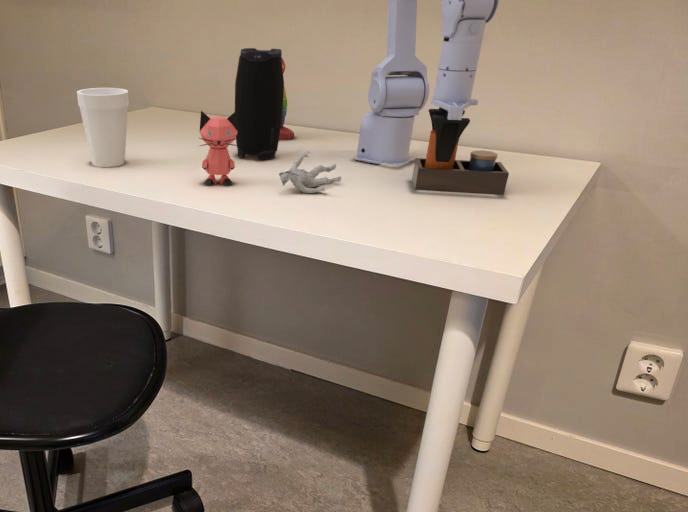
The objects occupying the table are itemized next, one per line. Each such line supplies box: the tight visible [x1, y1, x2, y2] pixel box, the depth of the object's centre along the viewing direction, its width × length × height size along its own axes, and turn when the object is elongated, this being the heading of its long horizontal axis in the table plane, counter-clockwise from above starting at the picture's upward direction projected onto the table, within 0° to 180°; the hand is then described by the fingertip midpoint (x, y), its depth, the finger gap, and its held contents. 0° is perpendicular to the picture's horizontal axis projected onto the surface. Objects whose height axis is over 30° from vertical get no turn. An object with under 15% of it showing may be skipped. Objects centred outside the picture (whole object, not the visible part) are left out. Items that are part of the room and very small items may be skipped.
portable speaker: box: [234, 47, 285, 161], centre depth 124 cm, size 9×9×20 cm
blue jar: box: [468, 150, 499, 171], centre depth 107 cm, size 4×4×6 cm
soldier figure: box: [278, 150, 342, 194], centre depth 108 cm, size 8×5×12 cm
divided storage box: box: [411, 157, 510, 196], centre depth 108 cm, size 7×14×4 cm, turn 78°
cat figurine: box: [198, 110, 239, 186], centre depth 109 cm, size 7×7×12 cm
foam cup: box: [76, 87, 130, 168], centre depth 121 cm, size 10×9×13 cm
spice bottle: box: [425, 130, 460, 169], centre depth 106 cm, size 5×5×8 cm
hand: (440, 157), depth 107 cm, fingers closed on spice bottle, 5 cm apart
